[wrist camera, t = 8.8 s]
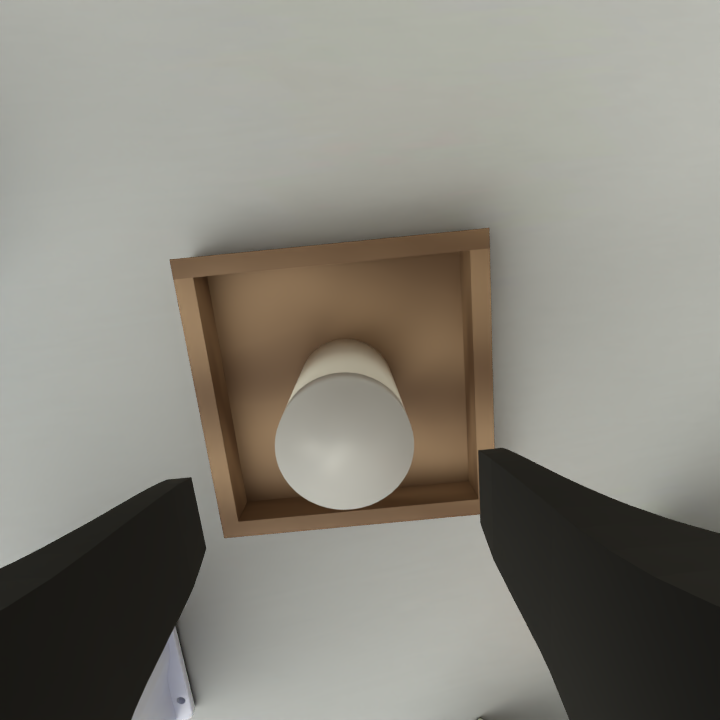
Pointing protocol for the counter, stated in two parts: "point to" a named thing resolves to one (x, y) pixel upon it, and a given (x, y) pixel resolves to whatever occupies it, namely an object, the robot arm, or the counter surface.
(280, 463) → the cylinder
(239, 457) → the walnut tray
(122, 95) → the counter surface
